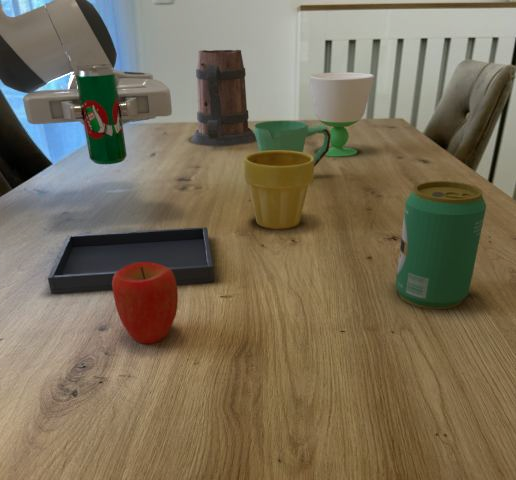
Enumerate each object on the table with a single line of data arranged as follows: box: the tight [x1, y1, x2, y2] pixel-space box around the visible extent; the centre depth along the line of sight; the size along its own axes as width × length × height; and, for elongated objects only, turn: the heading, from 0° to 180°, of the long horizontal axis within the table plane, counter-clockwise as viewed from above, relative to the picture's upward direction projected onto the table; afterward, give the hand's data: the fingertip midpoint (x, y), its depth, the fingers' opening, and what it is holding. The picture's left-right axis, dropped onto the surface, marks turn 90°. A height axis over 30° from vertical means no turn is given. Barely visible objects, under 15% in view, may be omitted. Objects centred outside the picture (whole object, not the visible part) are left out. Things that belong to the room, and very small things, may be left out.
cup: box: [309, 71, 375, 158], centre depth 121 cm, size 14×14×16 cm
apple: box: [112, 262, 179, 345], centre depth 54 cm, size 6×6×8 cm
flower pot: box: [243, 150, 315, 230], centre depth 83 cm, size 10×10×10 cm
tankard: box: [190, 49, 257, 147], centre depth 133 cm, size 24×17×20 cm
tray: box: [47, 226, 215, 295], centre depth 71 cm, size 19×14×2 cm
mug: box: [253, 120, 331, 168], centre depth 104 cm, size 15×10×10 cm
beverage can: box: [395, 180, 487, 310], centre depth 60 cm, size 8×8×12 cm
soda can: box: [75, 64, 128, 165], centre depth 74 cm, size 5×5×12 cm
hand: (101, 112), depth 73 cm, fingers closed on soda can, 5 cm apart
